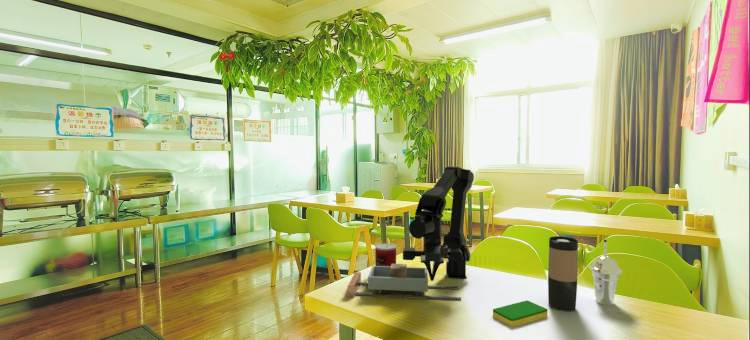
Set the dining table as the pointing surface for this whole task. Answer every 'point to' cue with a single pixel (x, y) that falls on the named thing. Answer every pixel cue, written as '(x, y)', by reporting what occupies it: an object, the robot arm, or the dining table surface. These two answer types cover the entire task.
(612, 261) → the cup with straw
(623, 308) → the dining table surface
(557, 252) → the travel mug
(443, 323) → the dining table surface
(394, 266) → the walnut block
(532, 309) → the dish sponge
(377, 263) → the canned food
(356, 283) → the track
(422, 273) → the grey open tray
